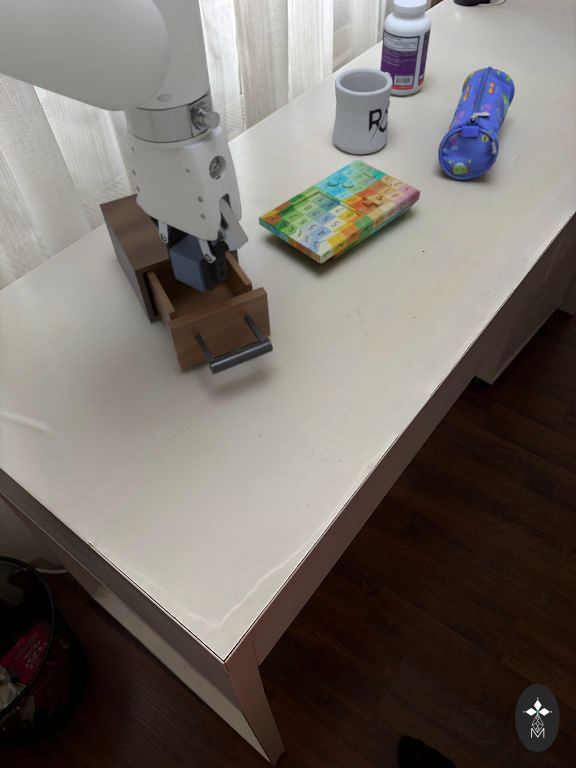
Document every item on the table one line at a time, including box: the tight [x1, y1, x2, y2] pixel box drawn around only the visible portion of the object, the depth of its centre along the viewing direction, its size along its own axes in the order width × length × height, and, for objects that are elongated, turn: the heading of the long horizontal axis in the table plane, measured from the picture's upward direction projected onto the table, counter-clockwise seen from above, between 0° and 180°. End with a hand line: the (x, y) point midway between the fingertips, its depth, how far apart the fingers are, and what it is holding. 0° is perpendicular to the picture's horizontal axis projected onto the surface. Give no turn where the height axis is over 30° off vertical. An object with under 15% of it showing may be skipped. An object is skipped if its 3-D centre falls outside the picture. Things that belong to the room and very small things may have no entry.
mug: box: [332, 67, 393, 155], centre depth 95 cm, size 12×9×10 cm
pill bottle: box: [379, 0, 432, 96], centre depth 104 cm, size 8×8×14 cm
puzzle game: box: [258, 159, 421, 264], centre depth 83 cm, size 12×5×20 cm
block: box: [169, 234, 217, 292], centre depth 63 cm, size 4×4×4 cm
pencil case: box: [437, 66, 516, 181], centre depth 92 cm, size 22×9×10 cm, turn 160°
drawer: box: [143, 251, 274, 376], centre depth 68 cm, size 19×11×7 cm, turn 27°
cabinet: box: [99, 192, 240, 324], centre depth 76 cm, size 15×13×9 cm
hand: (200, 273), depth 65 cm, fingers closed on block, 4 cm apart
